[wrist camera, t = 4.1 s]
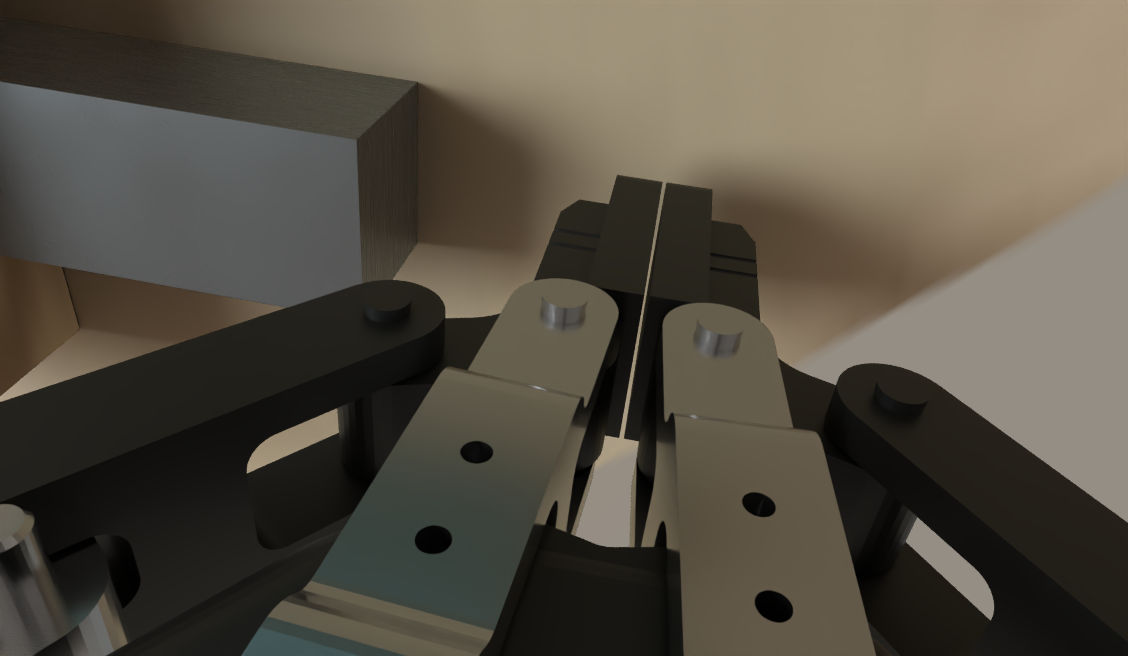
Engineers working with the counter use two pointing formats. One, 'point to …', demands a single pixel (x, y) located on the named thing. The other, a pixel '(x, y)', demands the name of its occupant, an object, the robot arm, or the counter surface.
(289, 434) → the counter surface
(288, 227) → the metal bar
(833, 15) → the counter surface
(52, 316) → the bore block
